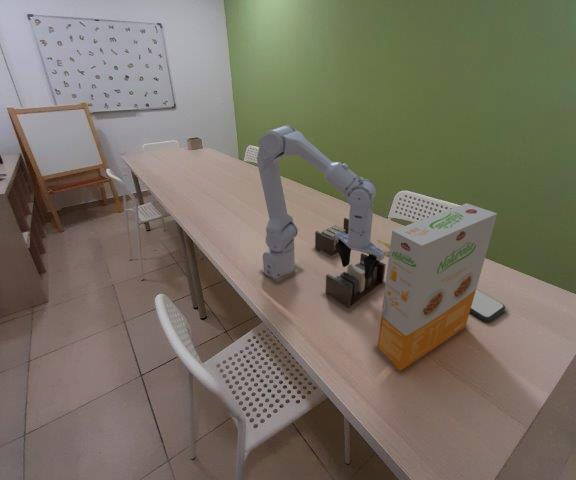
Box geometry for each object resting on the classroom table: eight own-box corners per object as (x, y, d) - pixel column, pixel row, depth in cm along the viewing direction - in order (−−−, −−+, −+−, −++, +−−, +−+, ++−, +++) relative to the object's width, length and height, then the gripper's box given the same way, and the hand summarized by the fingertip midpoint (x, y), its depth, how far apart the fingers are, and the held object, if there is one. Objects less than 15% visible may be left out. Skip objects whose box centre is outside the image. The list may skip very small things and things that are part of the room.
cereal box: (441, 311, 76) (466, 203, 64) (465, 327, 71) (497, 213, 59) (377, 349, 66) (392, 230, 54) (399, 371, 61) (421, 245, 49)
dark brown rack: (331, 258, 100) (332, 239, 97) (314, 249, 105) (315, 231, 102) (361, 241, 109) (363, 224, 106) (344, 234, 114) (345, 217, 112)
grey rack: (347, 311, 77) (349, 289, 75) (325, 295, 83) (325, 275, 80) (383, 284, 87) (386, 264, 84) (360, 272, 92) (362, 252, 90)
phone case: (506, 310, 76) (448, 276, 89) (507, 306, 76) (449, 272, 88) (486, 324, 72) (428, 287, 85) (487, 320, 72) (429, 282, 84)
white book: (360, 292, 82) (362, 274, 80) (346, 284, 86) (347, 266, 83) (364, 290, 83) (366, 271, 81) (350, 281, 87) (351, 263, 84)
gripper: (393, 232, 74) (388, 277, 79) (347, 214, 84) (345, 255, 90) (377, 242, 70) (372, 288, 75) (330, 222, 80) (329, 264, 86)
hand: (356, 271), depth 82 cm, fingers open, 7 cm apart
